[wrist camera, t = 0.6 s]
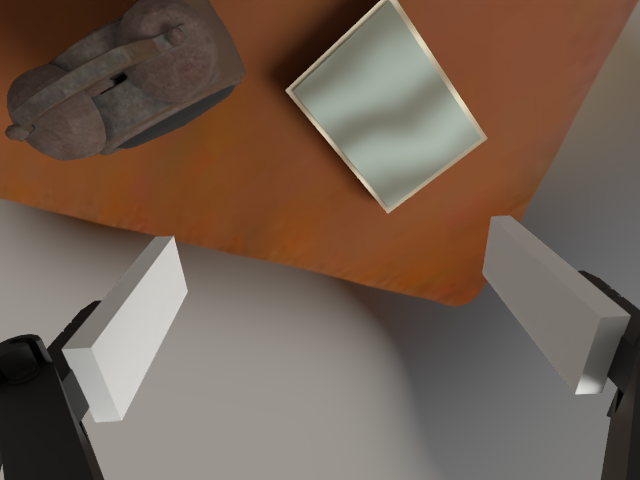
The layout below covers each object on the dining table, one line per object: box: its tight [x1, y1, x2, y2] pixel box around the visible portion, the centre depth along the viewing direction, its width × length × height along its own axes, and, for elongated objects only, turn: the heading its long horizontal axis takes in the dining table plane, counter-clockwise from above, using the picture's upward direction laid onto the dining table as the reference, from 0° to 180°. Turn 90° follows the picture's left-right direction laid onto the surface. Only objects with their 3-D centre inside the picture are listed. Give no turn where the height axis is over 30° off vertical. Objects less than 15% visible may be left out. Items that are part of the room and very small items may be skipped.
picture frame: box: [285, 0, 487, 213], centre depth 37 cm, size 16×12×3 cm
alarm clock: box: [5, 0, 246, 160], centre depth 29 cm, size 14×7×20 cm, turn 117°
